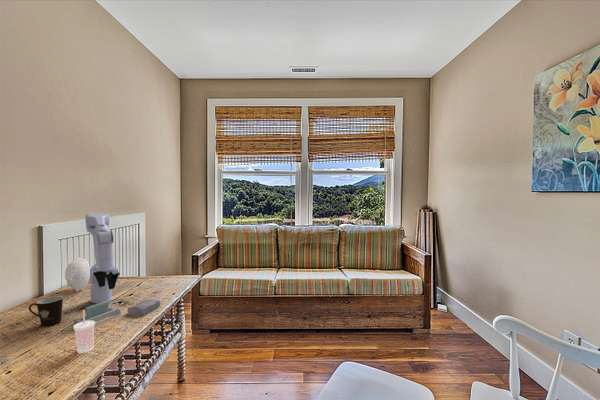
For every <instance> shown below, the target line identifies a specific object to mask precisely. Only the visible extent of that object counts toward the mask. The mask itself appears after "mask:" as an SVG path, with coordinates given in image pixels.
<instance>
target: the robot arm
mask: <svg viewBox="0 0 600 400" xmlns="http://www.w3.org/2000/svg"><path fill="white" fill-rule="evenodd" d="M84 218H85V229H86V232H87V233H90V234H91V236H92V239H93V249H94V259H95V264H93V265H92V266H91V267H90V278H89V282H90V284H91V285H90V290H89V291H90V299H89V300H88V301H89V302H90V303H94V304H98V303H101V302H104V301H107V302H108V303H109V302H111V301H114V300H116V299H117V298H116V297H113V294H112V293H113V292H112V290H114V289H115V288H116V285H117V280H118V278H119V276H120V274H121V273H120V272H119V268H116V267H115V266H114V258H113V257H114V256H113V255H114V254H113V252H114V251H113V243H114V239H115V238H114V233H113V231H112V230H110V228H109V225H110V215H109V213H107V212H105V213H90V214H88V213H87V214H85V217H84Z"/></svg>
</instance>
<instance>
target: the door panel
mask: <svg viewBox="0 0 600 400" xmlns="http://www.w3.org/2000/svg"><path fill="white" fill-rule="evenodd" d="M109 307H110V306H109V301H108V302H107V301H104V302H101V303H98V304H97V303H94V304H93V305H90V306H87V307H85V316H86V320H87V319H89V318H92V317H95V316H98V315H100V314H103V313H106V312H109Z"/></svg>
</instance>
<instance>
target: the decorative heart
mask: <svg viewBox="0 0 600 400" xmlns="http://www.w3.org/2000/svg"><path fill="white" fill-rule="evenodd" d="M90 269H91V267H90V263H89V262H88V261H87V259H86V258H83V257H77V258H75V259H73V260H72V261H71V262H70V263H69V264H68V265H67V267H66V268H65V271H64V272H65V273H64V277H65V278H64V279H65V282H66V283H67V285H68V286H69V287H70V288H71V289H72V290H74V291H76V293H77V294H78V293H79V291H82V290H83V289H84V288H85V287H87V285H88V283H89V282H90Z"/></svg>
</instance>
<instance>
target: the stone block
mask: <svg viewBox="0 0 600 400" xmlns="http://www.w3.org/2000/svg"><path fill="white" fill-rule="evenodd" d="M160 306H161V301H160V300H159V299H153V298H148V299H143V300H141V301H139V302H137V303H135V304H134V305H133V306H130V307H128V308H127V314H128V315H129V316H132V317H133V316H138V317H139V316H141V317H145V316H146V315H149V314H150V313H151V312H153V311H155V310H157V309H158V308H159V307H160Z"/></svg>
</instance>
